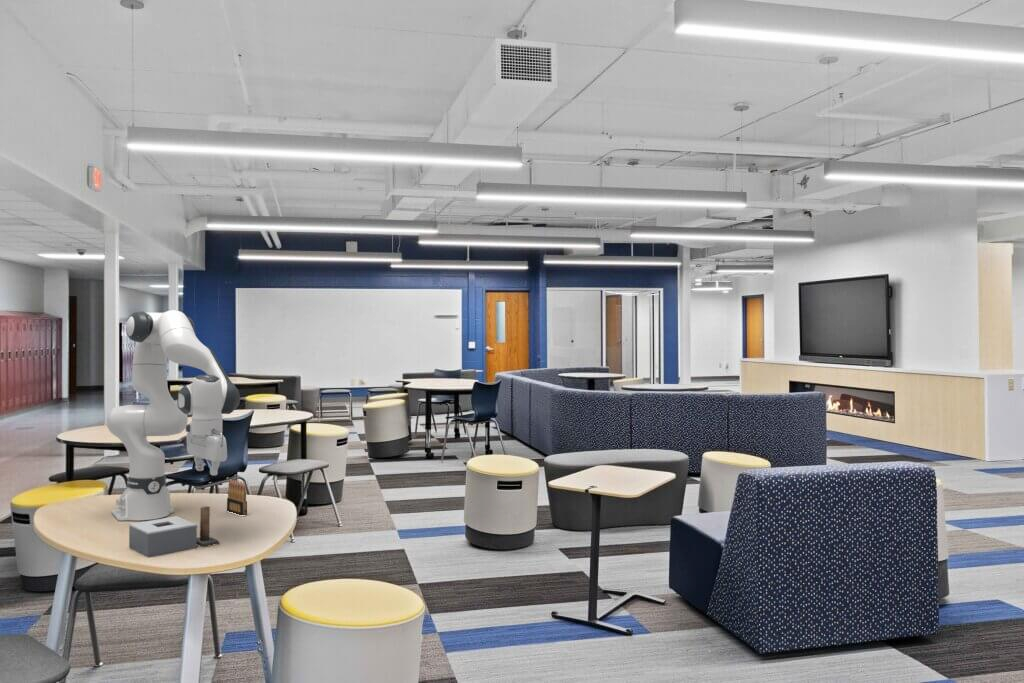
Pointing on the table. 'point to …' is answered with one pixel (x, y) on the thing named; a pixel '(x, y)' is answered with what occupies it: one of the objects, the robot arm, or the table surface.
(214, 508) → the table surface
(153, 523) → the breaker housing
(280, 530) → the table surface
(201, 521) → the brown rounded rod
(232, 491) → the ammunition clip
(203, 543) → the rubber pad
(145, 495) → the robot arm
